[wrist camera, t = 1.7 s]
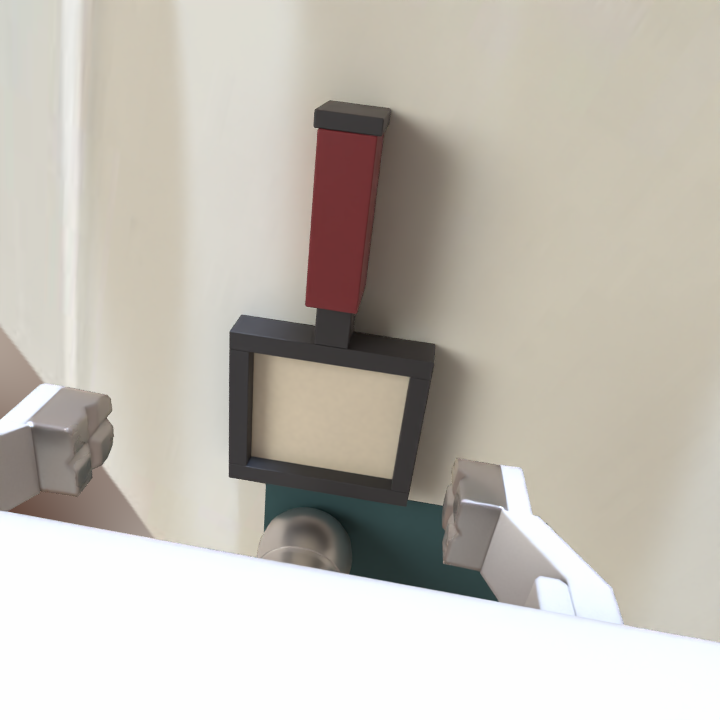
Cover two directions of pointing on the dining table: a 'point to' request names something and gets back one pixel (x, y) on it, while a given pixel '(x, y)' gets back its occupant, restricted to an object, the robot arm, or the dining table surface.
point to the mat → (388, 540)
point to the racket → (331, 348)
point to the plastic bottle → (307, 540)
